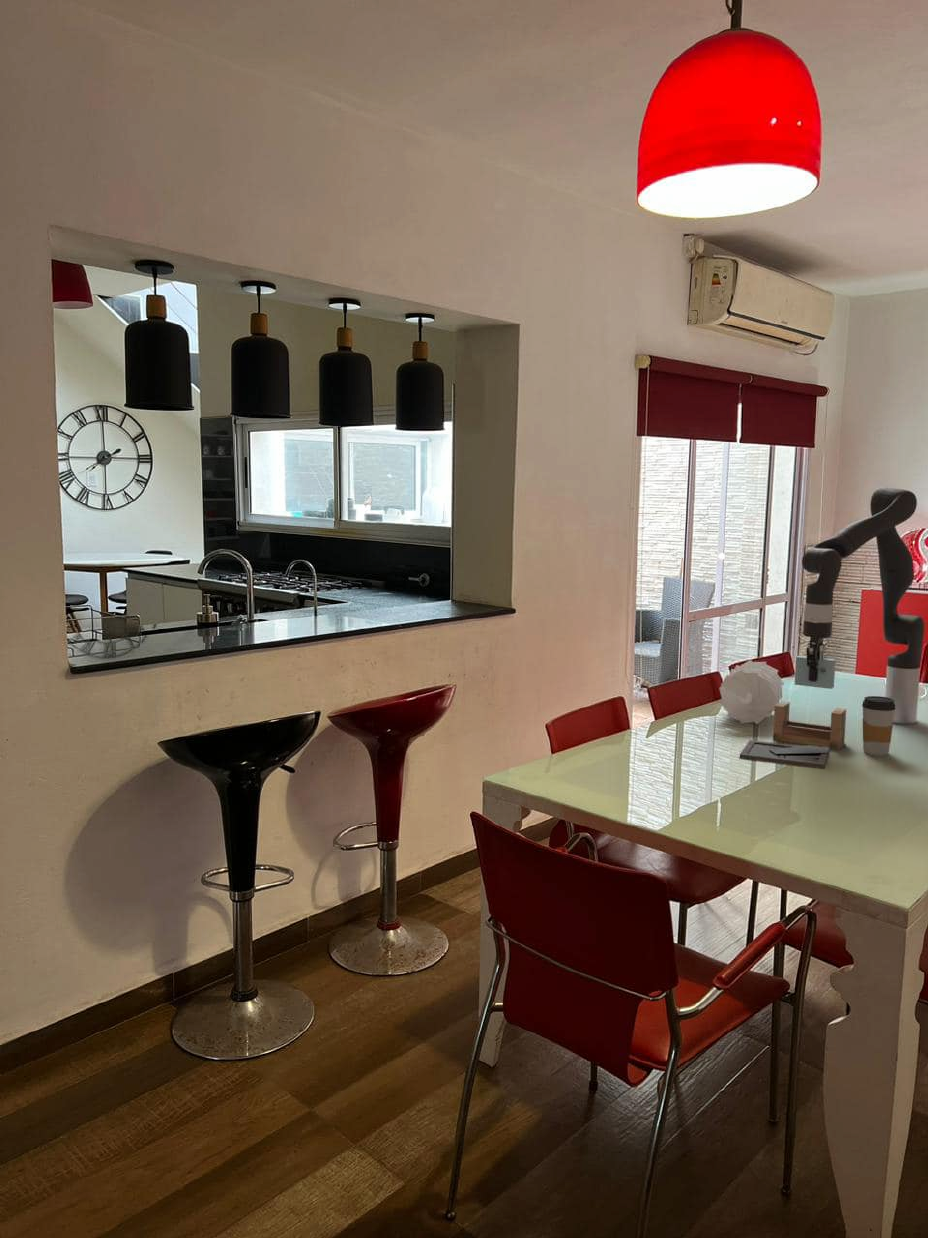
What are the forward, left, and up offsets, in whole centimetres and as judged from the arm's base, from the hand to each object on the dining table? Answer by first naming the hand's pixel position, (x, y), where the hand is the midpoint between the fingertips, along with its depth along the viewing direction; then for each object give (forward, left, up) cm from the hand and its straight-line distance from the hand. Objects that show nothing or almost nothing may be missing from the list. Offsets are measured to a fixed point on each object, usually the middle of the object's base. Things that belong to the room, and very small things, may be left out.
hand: (814, 679), depth 256 cm
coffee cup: (+2, +17, -18) cm, 25 cm away
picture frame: (+18, -3, -19) cm, 26 cm away
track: (0, -1, -18) cm, 18 cm away
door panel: (0, 0, -2) cm, 2 cm away
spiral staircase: (-19, -23, -18) cm, 35 cm away
